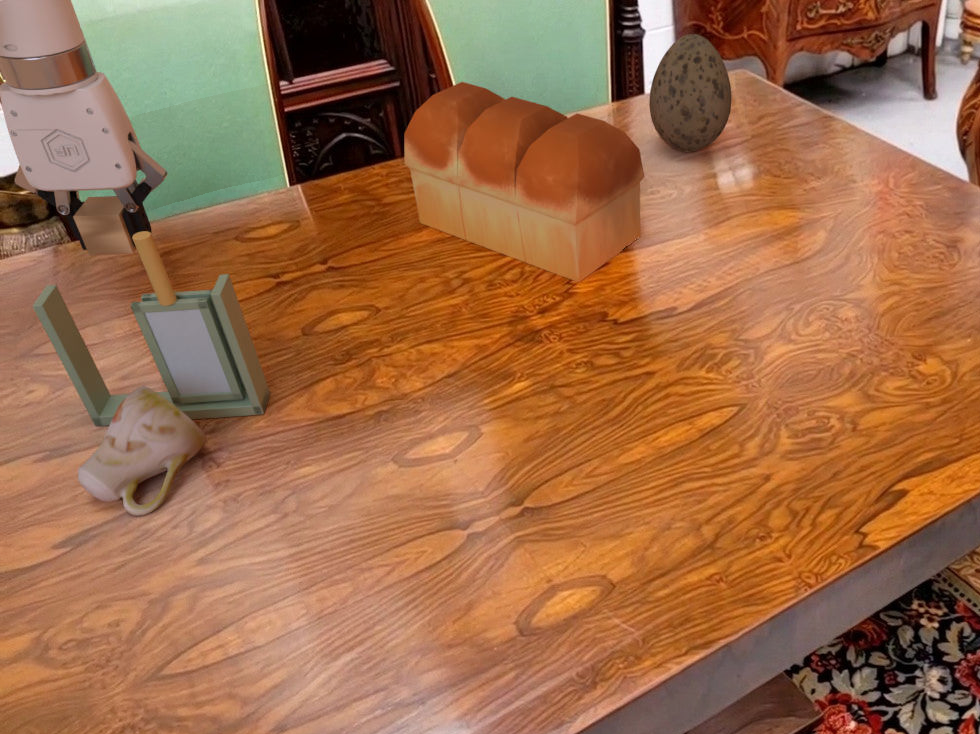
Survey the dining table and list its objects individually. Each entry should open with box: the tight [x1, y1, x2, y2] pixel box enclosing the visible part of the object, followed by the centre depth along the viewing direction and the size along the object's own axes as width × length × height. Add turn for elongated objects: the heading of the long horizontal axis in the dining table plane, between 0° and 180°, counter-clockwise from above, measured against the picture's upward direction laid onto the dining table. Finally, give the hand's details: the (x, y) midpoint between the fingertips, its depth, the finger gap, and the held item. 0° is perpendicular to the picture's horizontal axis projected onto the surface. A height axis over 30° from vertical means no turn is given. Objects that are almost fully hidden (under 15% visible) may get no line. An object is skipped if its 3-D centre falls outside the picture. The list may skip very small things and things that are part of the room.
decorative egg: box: [648, 33, 733, 153], centre depth 122 cm, size 11×11×15 cm
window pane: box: [130, 231, 244, 404], centre depth 80 cm, size 6×1×17 cm, turn 96°
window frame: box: [32, 273, 271, 427], centre depth 82 cm, size 15×3×13 cm, turn 96°
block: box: [73, 195, 137, 256], centre depth 97 cm, size 4×4×4 cm
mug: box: [77, 385, 208, 516], centre depth 78 cm, size 8×10×10 cm
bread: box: [403, 81, 645, 283], centre depth 106 cm, size 25×12×15 cm, turn 55°
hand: (116, 241), depth 98 cm, fingers closed on block, 4 cm apart
